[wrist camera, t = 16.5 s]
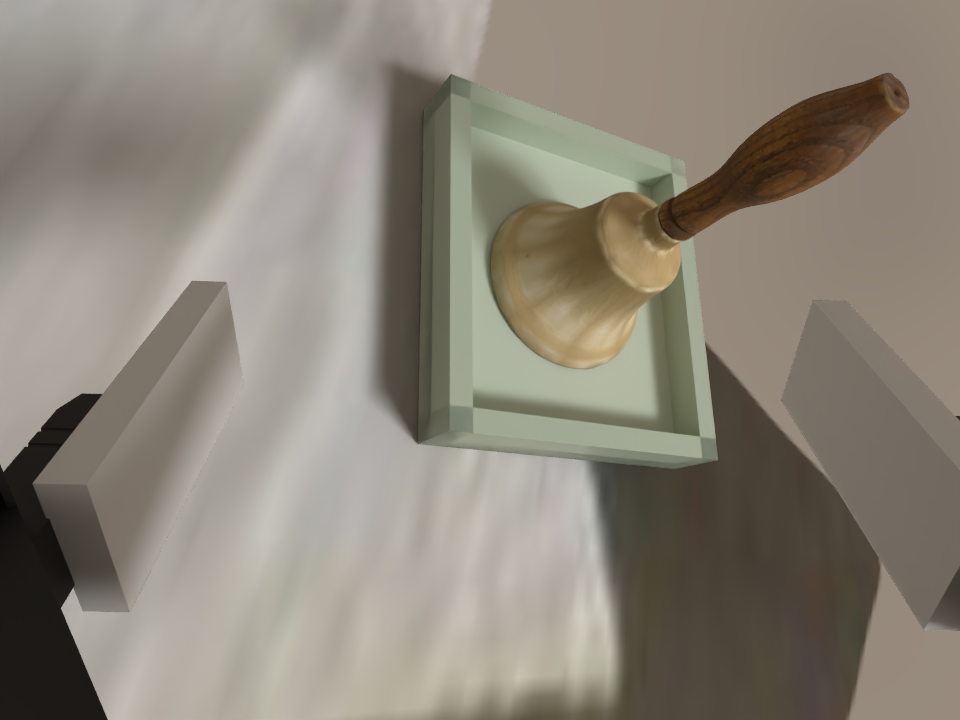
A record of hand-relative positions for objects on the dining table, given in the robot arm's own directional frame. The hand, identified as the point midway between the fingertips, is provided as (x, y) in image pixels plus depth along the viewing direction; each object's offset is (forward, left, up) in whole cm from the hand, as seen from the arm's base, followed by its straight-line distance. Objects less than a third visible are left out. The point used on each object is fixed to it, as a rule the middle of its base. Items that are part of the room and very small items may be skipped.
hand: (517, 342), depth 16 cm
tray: (-8, +10, -13) cm, 19 cm away
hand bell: (-8, +10, -12) cm, 18 cm away
